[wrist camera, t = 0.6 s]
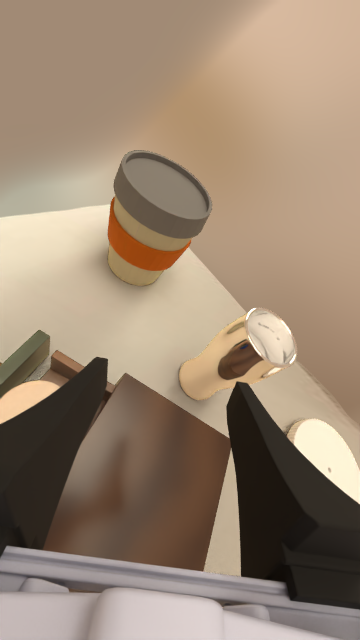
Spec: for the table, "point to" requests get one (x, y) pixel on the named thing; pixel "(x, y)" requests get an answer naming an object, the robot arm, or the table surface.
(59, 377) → the drawer
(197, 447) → the cabinet
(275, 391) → the table surface
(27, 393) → the jar
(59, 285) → the table surface
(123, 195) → the reusable coffee cup
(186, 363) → the beer glass
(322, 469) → the plastic lid
